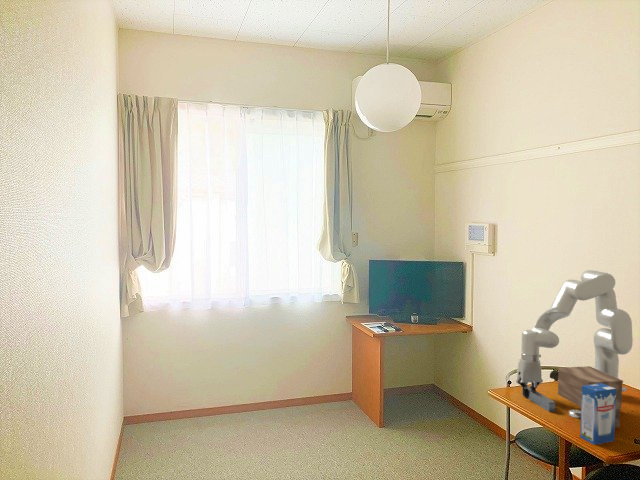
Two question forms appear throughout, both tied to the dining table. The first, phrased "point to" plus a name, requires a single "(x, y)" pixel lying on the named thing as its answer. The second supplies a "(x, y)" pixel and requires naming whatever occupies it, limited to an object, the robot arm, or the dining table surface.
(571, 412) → the steel token
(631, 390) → the dining table surface
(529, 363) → the robot arm
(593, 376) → the cabinet
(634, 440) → the dining table surface
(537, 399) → the gray rectangular bar
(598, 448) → the dining table surface
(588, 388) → the milk carton
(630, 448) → the dining table surface
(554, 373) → the hand tool
